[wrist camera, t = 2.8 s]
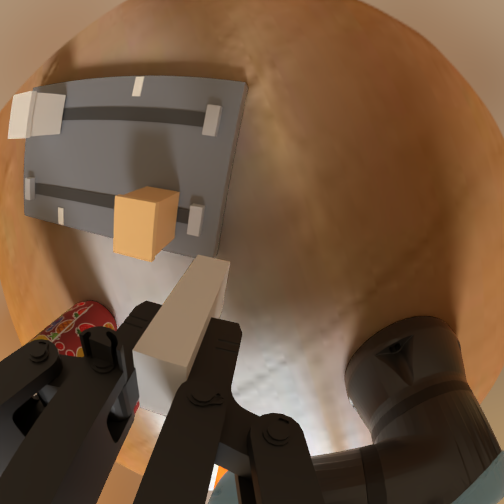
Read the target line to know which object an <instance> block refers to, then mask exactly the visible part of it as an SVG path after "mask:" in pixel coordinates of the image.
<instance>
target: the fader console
mask: <svg viewBox="0 0 504 504" xmlns="http://www.w3.org/2000/svg"><path fill="white" fill-rule="evenodd" d="M33 91H37V93H50V94H60V95H66V97H65V103H64V109H63V115H62V122H61V130H60V134H55V135H41V136H31V137H30V138H26V143H25V158H24V213H25V215H26V216H29V217H33V218H37V219H40V220H44V221H48V222H52V223H55V224H59V225H63V226H67V227H71V228H75V229H78V230H82V231H86V232H90V233H94V234H98V235H102V236H106V237H110V238H114V206H115V196H116V195H119V194H121V195H124V194H127V193H129V192H132V191H135V190H138V189H141V188H144V187H146V186H148V187H154V188H160V189H166V190H172V191H177V192H180V194H179V202H178V210H177V218H176V227H175V237H174V239H173V240H172V241H171V242H170V243H169V244H167V245H166V246H165V247H164V248H163V249H162V250H163V251H167V252H172V253H176V254H180V255H184V256H188V257H193V258H196V257H197V255H202V256H207V257H211V258H215V257H216V255H217V253H218V246H219V240H220V234H221V228H222V222H223V216H224V210H225V205H226V199H227V193H228V188H229V182H230V177H231V171H232V166H233V161H234V156H235V150H236V145H237V140H238V135H239V130H240V125H241V120H242V115H243V110H244V106H245V101H246V96H247V92H248V86H247V84H246V83H245V82H240V81H232V80H223V79H213V78H201V77H186V76H120V77H105V78H93V79H84V80H76V81H69V82H62V83H56V84H50V85H45V86H40V87H35V88H33Z"/></svg>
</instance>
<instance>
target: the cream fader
mask: <svg viewBox="0 0 504 504" xmlns="http://www.w3.org/2000/svg"><path fill="white" fill-rule="evenodd" d="M65 97H66V95H60V94H50V93H37V91H29V92H25V93H20V94H16V95H14V96H13V102H12V108H11V115H10V123H9V132H8V139H18V138H30V137H31V136H41V135H55V134H60V130H61V122H62V115H63V109H64V103H65Z"/></svg>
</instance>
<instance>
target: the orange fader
mask: <svg viewBox="0 0 504 504" xmlns="http://www.w3.org/2000/svg"><path fill="white" fill-rule="evenodd" d="M179 194H180V192H177V191H172V190H166V189H160V188H154V187H148V186H146V187H144V188H141V189H138V190H135V191H132V192H129V193H127V194H124V195H121V194H119V195H116V196H115V206H114V238H113V252H115V253H119V254H122V255H126V256H130V257H134V258H137V259H141V260H145V261H149V262H152V261H153V260H154V259H155V256H156V255H157V254H158V253H159V252H160V251H161V250H162V249H163V248H164V247H165V246H166V245H167V244H169V243H170V242H171V241H172V240H173V239H174V237H175V227H176V218H177V210H178V202H179Z"/></svg>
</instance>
